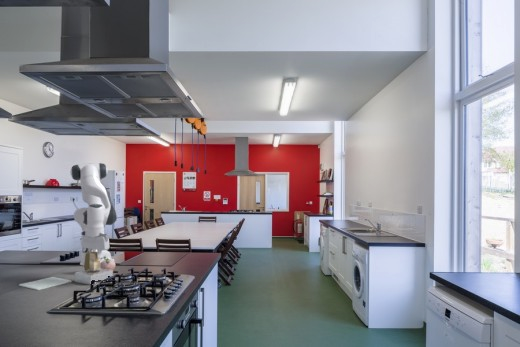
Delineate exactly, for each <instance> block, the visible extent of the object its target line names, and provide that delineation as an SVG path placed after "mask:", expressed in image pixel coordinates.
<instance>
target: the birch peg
mask: <svg viewBox="0 0 520 347" xmlns="http://www.w3.org/2000/svg"><path fill="white" fill-rule="evenodd" d="M97 253H98V252H97V251H93V252H90V267H89V270H98V269H100V257H101V255H100V257H99V258H98V257H96V254H97Z"/></svg>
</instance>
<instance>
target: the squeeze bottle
mask: <svg viewBox="0 0 520 347" xmlns="http://www.w3.org/2000/svg"><path fill="white" fill-rule="evenodd" d="M93 251H96V249H93ZM87 252H88V253H86V255H85V263H84V266H83V269H84V270H88V269H89V267H90V253H89V250H87Z"/></svg>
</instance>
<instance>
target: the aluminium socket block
mask: <svg viewBox="0 0 520 347" xmlns="http://www.w3.org/2000/svg"><path fill="white" fill-rule="evenodd" d="M108 276H113V277H114V270H109V269H103V268H100V269H98V270H89V269H88V270H85V269H84V270H80V271H77V272H74V282H75V283H79V284H83V285H90V284H91V281H92V280H95V281H98V280H104V279H106V278H108ZM95 284H97V283H96V282H95ZM95 284H94V285H95ZM90 286H91V285H90Z"/></svg>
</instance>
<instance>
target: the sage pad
mask: <svg viewBox="0 0 520 347" xmlns="http://www.w3.org/2000/svg"><path fill="white" fill-rule="evenodd" d="M72 282H73V281H72V280H70V279H64V278H60V277H55V276H50V277H45V278H41V279H38V280H34V281H29V282H24V283H19V284H18V286H19V287H23V288H28V289H31V290H36V291H41V290H44V289H49V288H53V287H56V286H57V287H58V286H60V285H64V284H69V283H72Z"/></svg>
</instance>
